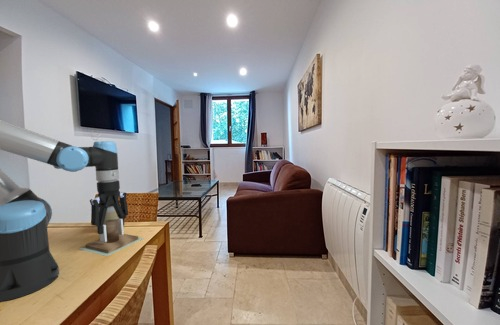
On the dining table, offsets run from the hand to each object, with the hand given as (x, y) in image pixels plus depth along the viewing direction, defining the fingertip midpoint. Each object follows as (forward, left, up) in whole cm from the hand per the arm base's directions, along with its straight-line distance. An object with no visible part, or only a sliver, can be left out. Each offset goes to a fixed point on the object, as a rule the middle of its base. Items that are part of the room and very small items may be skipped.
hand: (112, 237), depth 90 cm
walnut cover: (0, 0, -2) cm, 2 cm away
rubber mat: (0, 0, -3) cm, 3 cm away
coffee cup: (+9, +14, -3) cm, 17 cm away
